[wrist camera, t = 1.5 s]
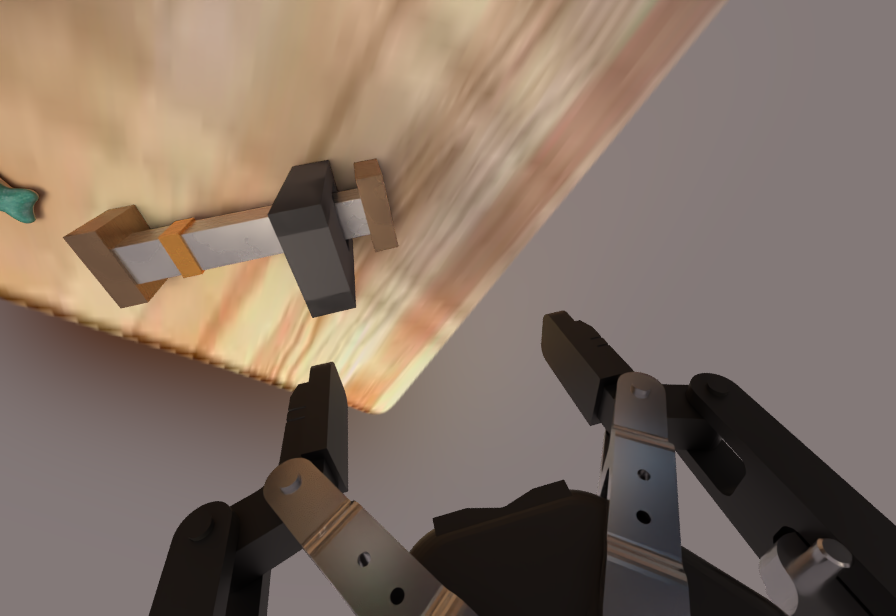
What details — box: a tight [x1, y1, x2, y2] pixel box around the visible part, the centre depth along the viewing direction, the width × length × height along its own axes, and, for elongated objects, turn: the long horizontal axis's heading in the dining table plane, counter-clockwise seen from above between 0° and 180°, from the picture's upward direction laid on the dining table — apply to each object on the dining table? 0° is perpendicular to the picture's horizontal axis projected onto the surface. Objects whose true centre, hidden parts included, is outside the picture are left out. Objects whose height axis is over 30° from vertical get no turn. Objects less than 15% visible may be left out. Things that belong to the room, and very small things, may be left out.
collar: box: [267, 160, 356, 318], centre depth 28 cm, size 3×7×12 cm, turn 8°
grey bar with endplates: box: [63, 159, 399, 308], centre depth 30 cm, size 22×6×6 cm, turn 98°
